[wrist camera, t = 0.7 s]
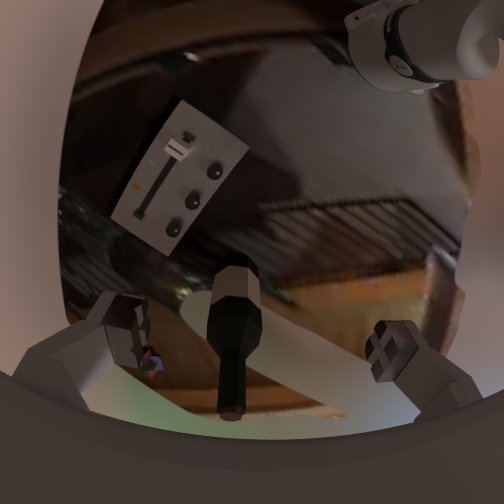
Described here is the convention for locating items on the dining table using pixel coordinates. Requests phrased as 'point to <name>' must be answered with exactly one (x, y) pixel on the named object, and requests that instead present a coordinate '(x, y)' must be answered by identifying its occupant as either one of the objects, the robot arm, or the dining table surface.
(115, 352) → the robot arm
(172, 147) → the fader
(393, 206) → the dining table surface
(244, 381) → the wine bottle
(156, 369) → the geometric puzzle
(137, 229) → the console
